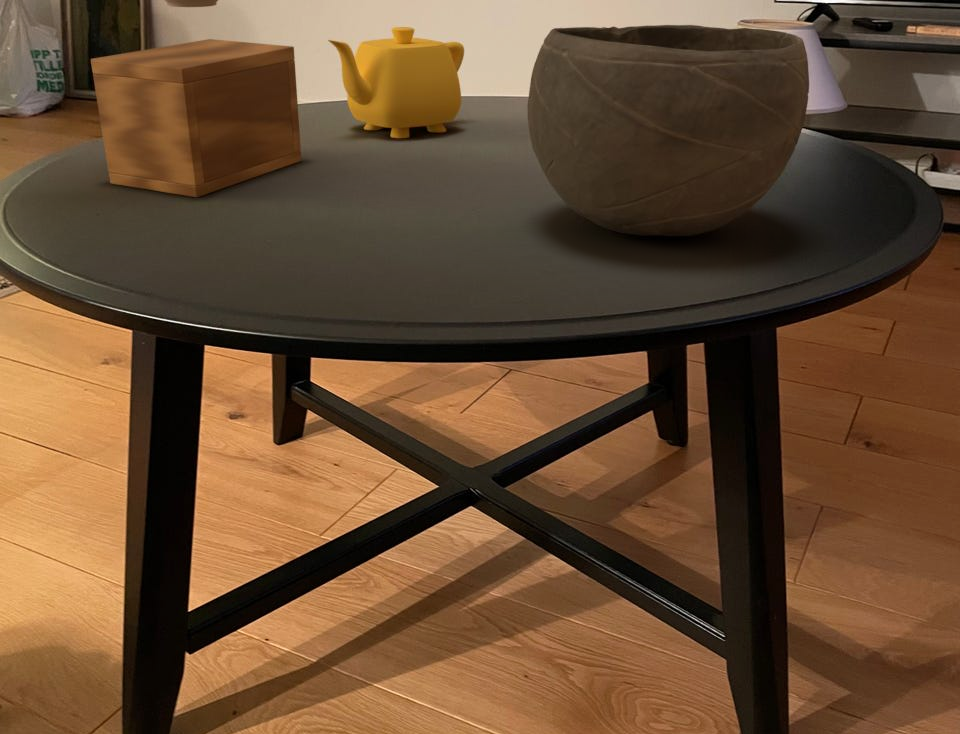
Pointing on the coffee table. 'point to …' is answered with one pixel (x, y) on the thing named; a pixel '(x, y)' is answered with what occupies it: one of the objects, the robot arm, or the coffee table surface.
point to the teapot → (402, 82)
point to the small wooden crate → (197, 114)
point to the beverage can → (191, 3)
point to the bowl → (666, 122)
